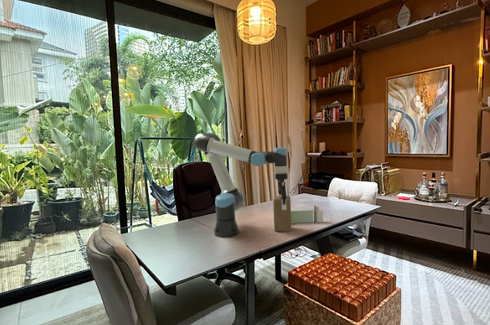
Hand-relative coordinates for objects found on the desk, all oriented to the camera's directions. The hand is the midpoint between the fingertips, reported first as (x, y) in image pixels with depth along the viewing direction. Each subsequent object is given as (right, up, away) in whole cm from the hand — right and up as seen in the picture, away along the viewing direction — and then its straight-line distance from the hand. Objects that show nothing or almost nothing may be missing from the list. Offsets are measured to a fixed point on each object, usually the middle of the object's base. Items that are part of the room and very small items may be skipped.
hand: (282, 207), depth 163 cm
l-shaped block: (+13, -13, +13) cm, 22 cm away
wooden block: (0, -14, +1) cm, 14 cm away
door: (+12, -12, +12) cm, 21 cm away
